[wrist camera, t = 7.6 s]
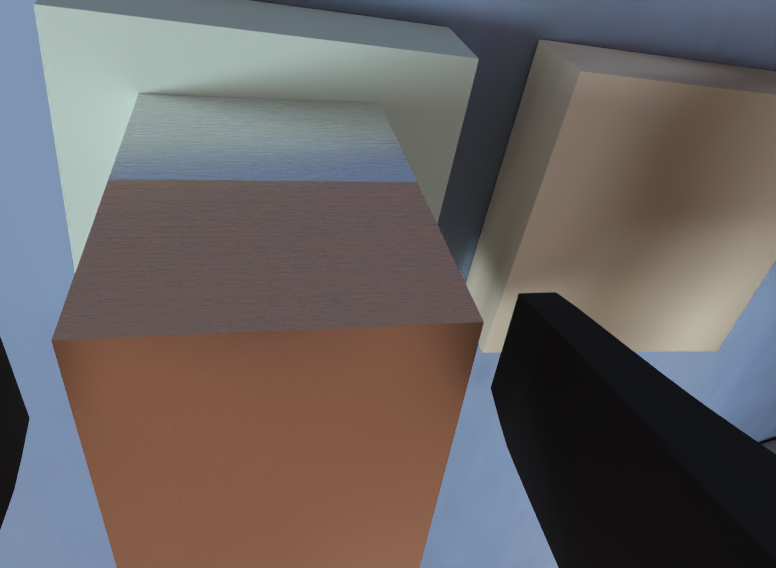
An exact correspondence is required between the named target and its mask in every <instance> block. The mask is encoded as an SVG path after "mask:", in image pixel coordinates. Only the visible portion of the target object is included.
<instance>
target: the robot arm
mask: <svg viewBox="0 0 776 568" xmlns="http://www.w3.org/2000/svg"><path fill="white" fill-rule="evenodd" d="M491 390H492V394H493V398H494V402H495V406H496V409H497V413H498V417H499V421H500V424H501V427H502V431H503V434H504V437H505V441H506V444H507V447H508V450H509V452H510V455H511V457H512V460H513V462H514V464H515V467H516V469H517V472H518V474H519V476H520V479H521V481H522V483H523V486H524V488H525V491H526V493H527V495H528V498H529V500H530V502H531V505H532V507H533V509H534V512H535V514H536V516H537V518H538V521H539V523H540V525H541V528H542V530H543V532H544V535H545V537H546V539H547V542H548V544H549V546H550V549H551V551H552V553H553V556H554V558H555V560H556V563H557V565H558V567H559V568H776V454H775V453H774V452H772V451H771V450H769V449H768V448H766V447H764V446H763V445H761V444H760V443H758V442H757V441H755V440H754V439H752V438H751V437H750V436H748V435H747V434H745V433H744V432H742V431H741V430H739V429H738V428H737V427H735V426H734V425H732V424H731V423H729V422H728V421H727V420H725V419H724V418H722V417H721V416H719V415H718V414H716V413H715V412H714V411H712V410H711V409H709V408H708V407H706V406H705V405H704V404H702V403H701V402H700V401H698V400H697V399H696V398H694V397H693V396H691V395H690V394H689V393H687V392H686V391H685V390H683V389H682V388H681V387H679V386H678V385H677V384H675V383H674V382H673V381H671V380H670V379H669V378H667V377H666V376H665V375H663V374H662V373H661V372H659V371H658V370H657V369H656V368H654V367H653V366H652V365H650V364H649V363H648V362H646V361H645V360H644V359H643V358H641V357H640V356H639V355H637V354H636V353H635V352H634V351H632V350H631V349H630V348H629V347H627V346H626V345H625V344H623V343H622V342H621V341H620V340H618V339H617V338H616V337H615V336H613V335H612V334H611V333H609V332H608V331H607V330H606V329H604V328H603V327H602V326H601V325H599V324H598V323H597V322H595V321H594V320H593V319H592V318H590V317H589V316H588V315H586V314H585V313H584V312H583V311H581V310H580V309H579V308H577V307H576V306H575V305H573V304H572V303H571V302H569V301H568V300H566V299H565V298H563V297H562V296H561V295H559V294H558V293H556V292H544V293H519V294H518V297H517V301H516V304H515V307H514V311H513V314H512V318H511V321H510V324H509V328H508V331H507V335H506V338H505V341H504V345H503V348H502V352H501V355H500V358H499V362H498V365H497V369H496V372H495V375H494V379H493V382H492V386H491ZM28 423H29V416H28V413H27V410H26V407H25V404H24V402H23V399H22V396H21V393H20V390H19V388H18V385H17V382H16V379H15V377H14V374H13V371H12V368H11V365H10V363H9V360H8V357H7V354H6V351H5V349H4V346H3V343H2V340H1V338H0V529H1V526H2V523H3V520H4V517H5V515H6V512H7V509H8V506H9V503H10V500H11V497H12V494H13V492H14V488H15V484H16V479H17V475H18V471H19V466H20V462H21V458H22V453H23V448H24V443H25V438H26V433H27V428H28Z"/></svg>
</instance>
